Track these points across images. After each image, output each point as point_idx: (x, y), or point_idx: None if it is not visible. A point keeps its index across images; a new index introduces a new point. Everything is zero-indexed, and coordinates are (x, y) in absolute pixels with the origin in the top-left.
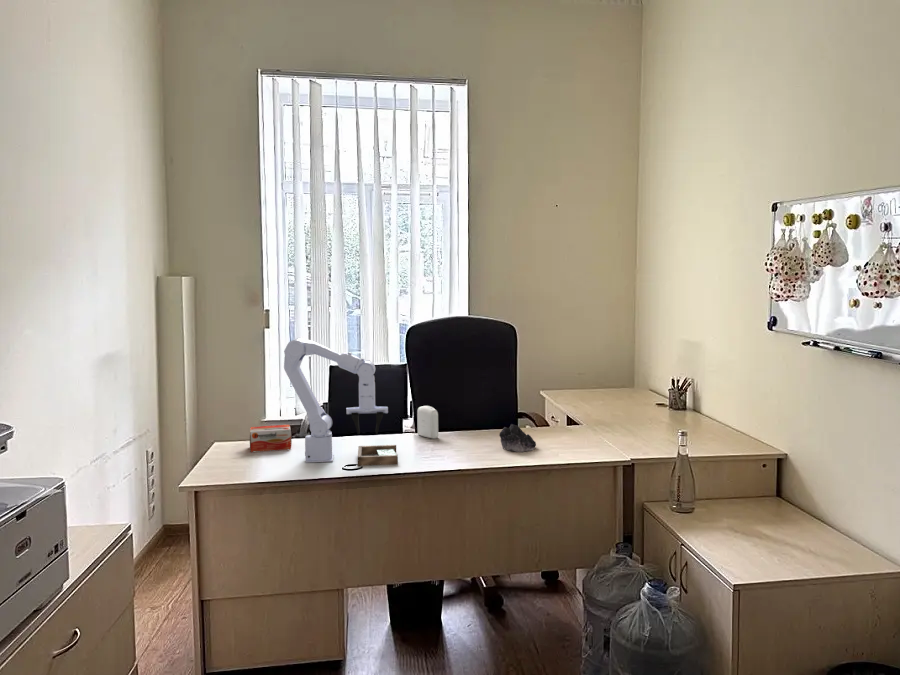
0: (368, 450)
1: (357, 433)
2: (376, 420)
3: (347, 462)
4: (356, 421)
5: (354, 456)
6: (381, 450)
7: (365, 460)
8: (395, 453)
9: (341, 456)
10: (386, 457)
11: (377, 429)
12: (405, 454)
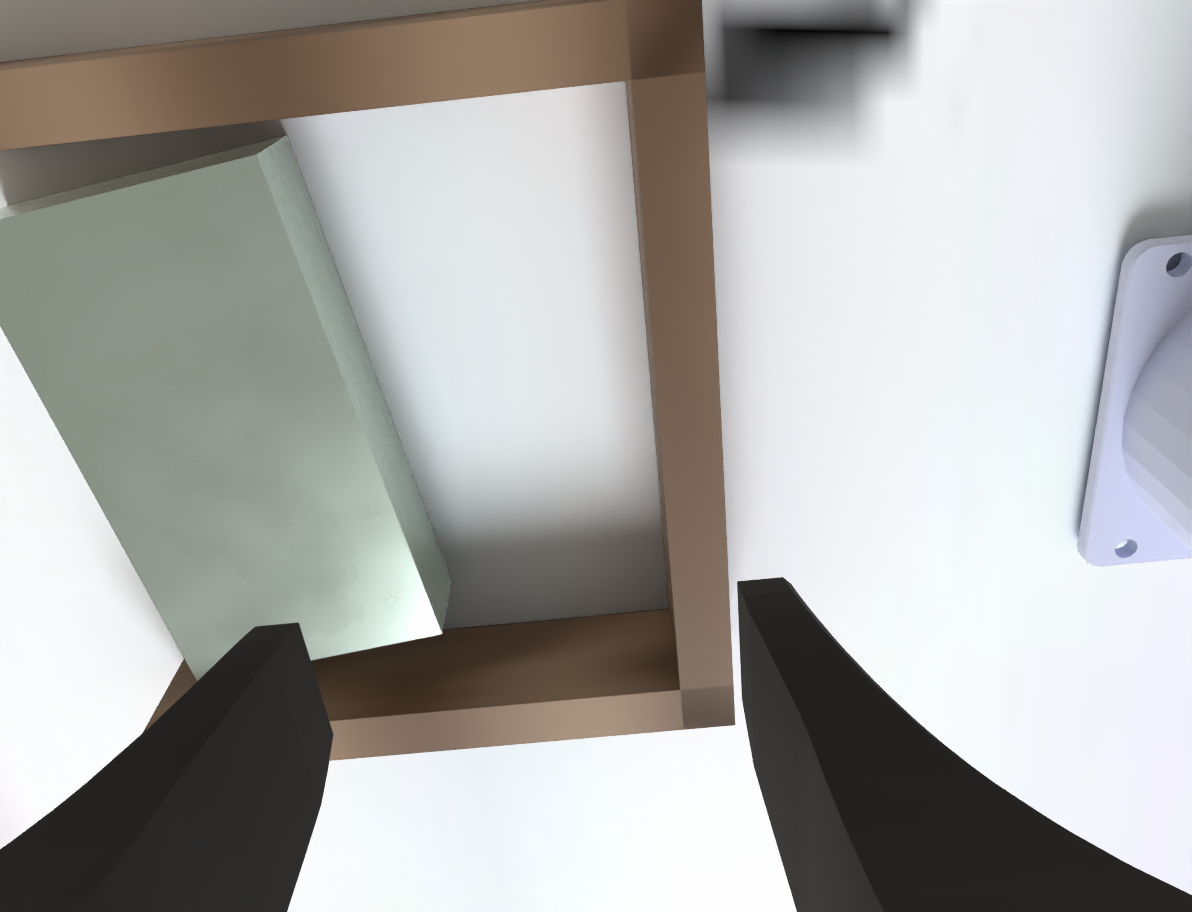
0: (575, 658)
1: (791, 586)
2: (76, 900)
3: (872, 220)
4: (928, 821)
5: (771, 542)
6: (356, 605)
7: (534, 5)
8: (67, 435)
9: (961, 544)
10: (98, 58)
11: (206, 685)
12: (45, 623)
